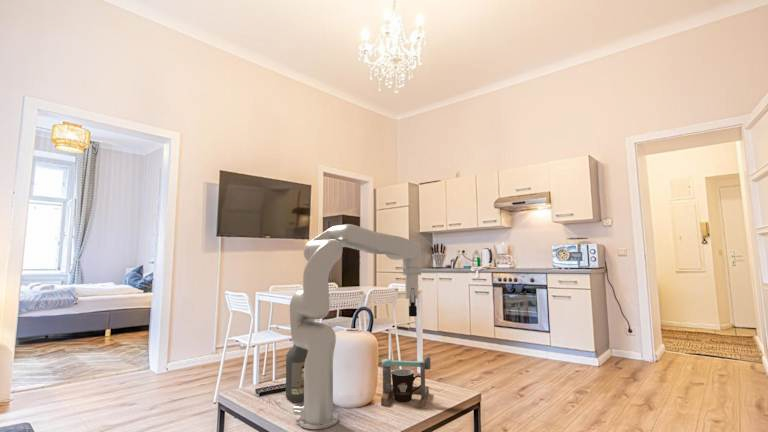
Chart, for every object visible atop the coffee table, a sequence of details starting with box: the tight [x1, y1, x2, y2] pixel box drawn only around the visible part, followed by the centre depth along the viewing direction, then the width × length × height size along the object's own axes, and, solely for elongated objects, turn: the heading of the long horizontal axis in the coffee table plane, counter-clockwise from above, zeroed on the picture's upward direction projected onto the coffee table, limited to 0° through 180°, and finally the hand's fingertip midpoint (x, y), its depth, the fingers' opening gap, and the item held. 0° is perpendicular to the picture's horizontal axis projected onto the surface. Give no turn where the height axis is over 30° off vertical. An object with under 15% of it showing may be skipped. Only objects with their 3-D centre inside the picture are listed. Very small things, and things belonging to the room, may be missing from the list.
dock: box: [380, 362, 430, 409], centre depth 150 cm, size 16×16×14 cm
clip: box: [381, 356, 431, 370], centre depth 149 cm, size 18×4×4 cm, turn 79°
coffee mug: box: [391, 368, 421, 404], centre depth 148 cm, size 12×9×10 cm
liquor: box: [285, 343, 308, 403], centre depth 153 cm, size 9×9×30 cm
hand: (412, 316), depth 163 cm, fingers closed
